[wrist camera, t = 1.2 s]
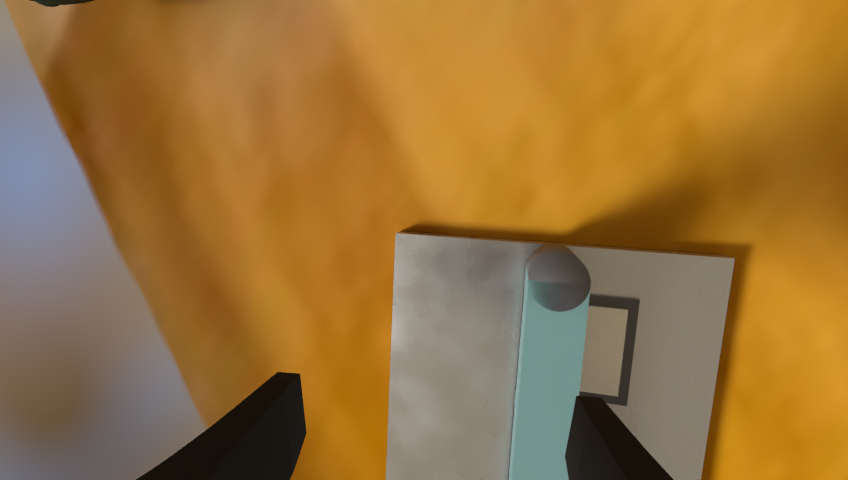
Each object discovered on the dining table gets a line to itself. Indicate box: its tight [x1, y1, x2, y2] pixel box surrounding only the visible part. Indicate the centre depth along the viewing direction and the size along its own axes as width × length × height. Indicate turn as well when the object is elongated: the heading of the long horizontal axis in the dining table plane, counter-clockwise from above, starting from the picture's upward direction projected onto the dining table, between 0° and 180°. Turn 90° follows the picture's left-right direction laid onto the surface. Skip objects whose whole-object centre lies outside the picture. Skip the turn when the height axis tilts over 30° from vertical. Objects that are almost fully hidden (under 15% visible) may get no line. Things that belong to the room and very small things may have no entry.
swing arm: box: [508, 243, 591, 480], centre depth 19 cm, size 18×3×3 cm, turn 178°
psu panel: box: [386, 231, 735, 480], centre depth 22 cm, size 18×16×2 cm
